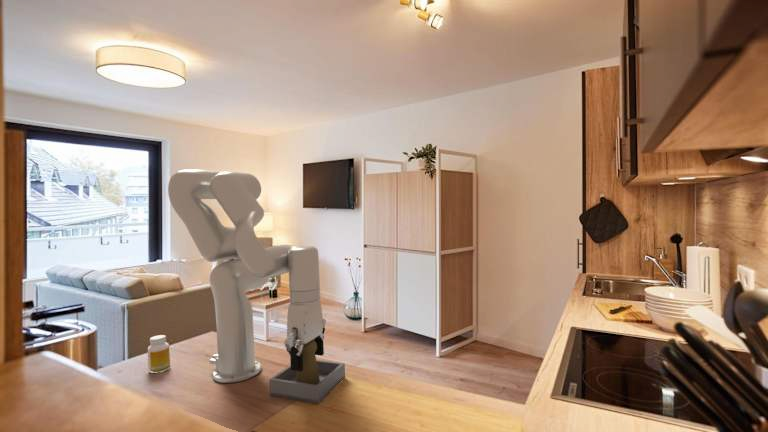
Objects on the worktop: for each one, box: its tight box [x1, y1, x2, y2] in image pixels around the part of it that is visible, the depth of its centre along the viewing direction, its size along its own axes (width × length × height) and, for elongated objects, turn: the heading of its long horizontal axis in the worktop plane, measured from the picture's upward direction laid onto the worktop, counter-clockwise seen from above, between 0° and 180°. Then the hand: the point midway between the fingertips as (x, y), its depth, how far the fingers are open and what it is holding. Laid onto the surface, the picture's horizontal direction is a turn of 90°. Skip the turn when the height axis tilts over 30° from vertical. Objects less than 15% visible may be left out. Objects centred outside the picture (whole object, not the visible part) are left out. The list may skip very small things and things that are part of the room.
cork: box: [295, 340, 320, 385], centre depth 96 cm, size 6×6×11 cm
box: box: [268, 359, 346, 405], centre depth 96 cm, size 14×14×4 cm
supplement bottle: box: [147, 334, 171, 372], centre depth 110 cm, size 5×5×10 cm
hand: (308, 362), depth 96 cm, fingers open, 9 cm apart
